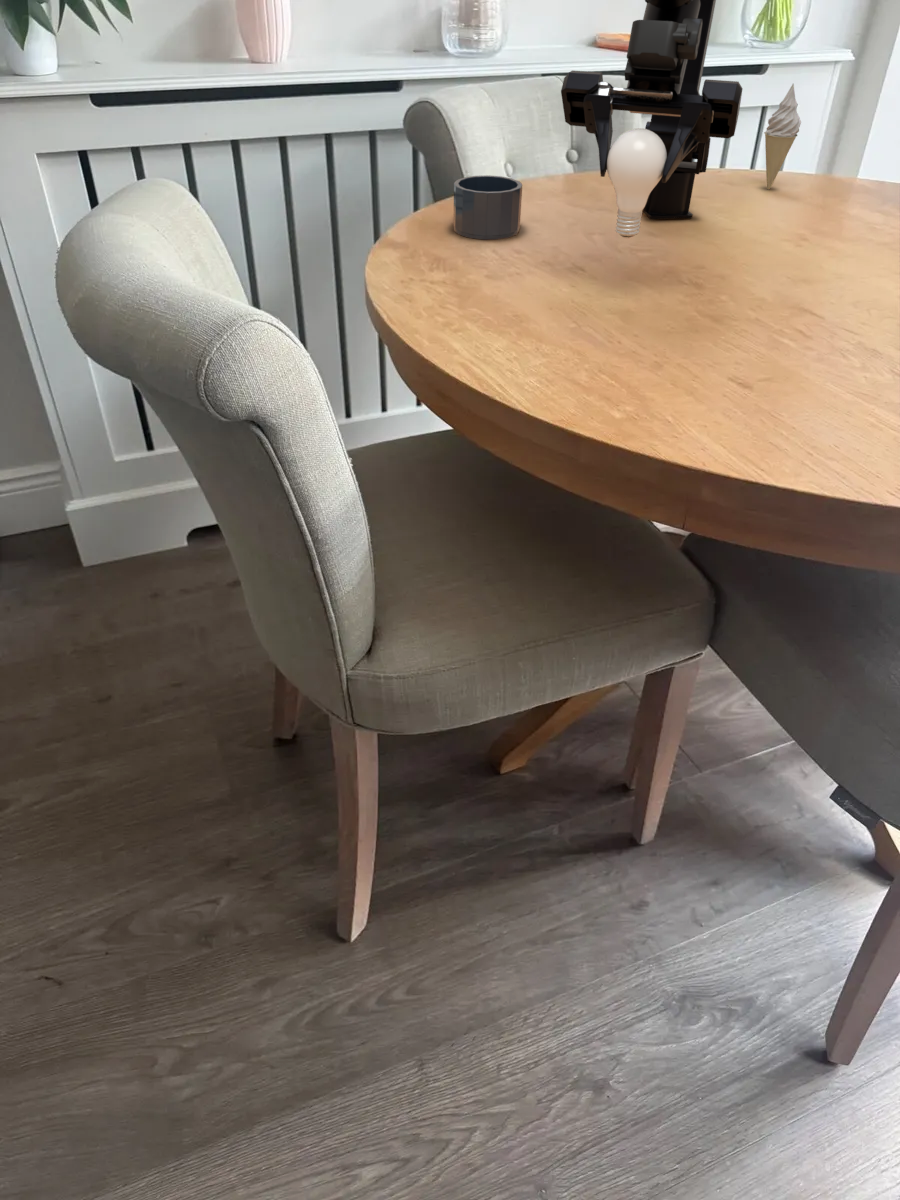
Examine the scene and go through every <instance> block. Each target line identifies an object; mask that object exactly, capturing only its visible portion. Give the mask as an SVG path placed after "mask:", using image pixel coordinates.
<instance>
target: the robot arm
mask: <svg viewBox="0 0 900 1200" xmlns="http://www.w3.org/2000/svg"><path fill="white" fill-rule="evenodd" d="M644 1H645V3H646V5H645V10H644V13H643V18H642V19H636V20H633V21H632V25H631V31H630V36H629V41H628V47H627V53H626V60H627V61H626V65H625V69H624V81H627V84H626V87H614V86H613V85H612V84H611V83H609V82H607V81H604V78H603V77H604V76H603V75H604V74H603V72H601V71H585V70H571V71H569V72H568V73H567V74H566V75H565V76H564V77H563V82H562V85H561V90H560V95H561V101H562V108H563V115H564V122H565V123H566V124H567V125H569V126H573V127H584V128H585V130H586V132H587V133H589V134H593V135H594V136H595V140H596V144H597V148H598V159H599V173H600V177H603V178H604V177H605V176H606V173H607V157H608V153H609V150H610V148H611V146H612V138H613V132H614V131H613V130H614V129H613V113H614V111H623V112H624V111H626V112H629V113H630V114H640V115H651V117H650V120H649V121H646V124H645V127H644V129H648V130H650V131H652V132H654V133H655V134H657V135H658V136H659V137H660V138H661V140H662V141H663V143H664V145H665V148H666V152H667V159H666V162H665V166H664V171H663V175H662V178H661V179H660V181H659V182H658V184H657V185H656V186H655V187H654V189H653V190H652V191H651V193H650V195H649V197H648V200H647V203H646V205H645V207H644V209H643V210H642V214H644V215H645V216H646V217H648V218H649V219H650V220H672V219H674V220H675V219H692V218H693V216H694V214H693V213H692V212H691V211H690V207H691V206H690V205H691V200H692V196H693V190H694V183H695V177H696V175H700V174H701V173H706V172H707V166H708V162H709V154H710V146H711V138H716V139H717V138H718V139H731V138H732V137H734V136H735V134H736V130H737V124H738V121H739V115H740V108H741V104H742V103H741V101H742V96H743V90H744V89H743V86H742V85H741V83H740V82H739V81H736V80H735V81H733V80H721V79H720V80H719V79H705V80H704V82H703V86H702V90H701V93H700V88H701V82H702V77H703V73H704V72H703V71H704V67H705V62H706V61H705V60H706V54H707V51H708V46H709V40H710V35H711V34H710V33H711V29H712V24H713V19H714V14H715V9H716V4H717V3H716V2H717V0H644ZM694 160H696V161H694Z"/></svg>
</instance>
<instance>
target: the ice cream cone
mask: <svg viewBox="0 0 900 1200" xmlns="http://www.w3.org/2000/svg"><path fill="white" fill-rule="evenodd" d="M798 105H799V104H798V102H797V100H796V94H795V84H794V83H792V84H791V86H790V88H789V89H788V91H787V92H786V95H785V96H784V98H783V99H782V101H780V102H779V108H778V109H777V110H776V111H775V112H773V113H772V114H771V117H769V119H768V121H767V124H768V126H767V127H766V130H765V131H764V132H763V134H764V140H765V141H764V143H765V144H764V145H765V147H764V149H765V173H766V174H765V176H766V179H765V180H766V190H770V189H771V188H772V185H773V184H774V182H775V180H776V178H777V176H778V174H779V172H780V170H781V168H782V166H783V164H784V162H785V160H786V158H787V156H788V153H789V152H790V150H791V147H792V146H793V144H794V142H795V140H796V138H797V137H798V133H799V132H800V127H801V125H802V121H801V118H800V116H799V113H798V111H797V107H798Z"/></svg>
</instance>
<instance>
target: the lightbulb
mask: <svg viewBox="0 0 900 1200" xmlns="http://www.w3.org/2000/svg"><path fill="white" fill-rule="evenodd" d="M666 159H667V152H666V148H665V145H664V143H663V141H662V140H661V138H660V137H659V136H658V135H657V134H655V133H654V132H652V131H650V130H648V129H645V128H643V127H640V128H639V127H638V128H632V129H629V130H627V131H624V132H622V133H621V134H620V135H619V136H618V137H617V138H616V139H615V140H614V141H613V143H611V147H610V150H609V153H608V157H607V170H606V173H607V176H608V178H609V180H610V183H611V185H612V187H613V189H614V193H615V200H616V201H615V204H616V207H617V214H616V216H617V219H616V224H615V225H616V226H615V232H616V233H617V234H618V235H619V236H621V237H622V238H624V239H630V238H633V237H635V236H636V235H638V234H639V233H640V228H641V221H642V218H641V217H642V216H643V212H642V210H643V209H644V207H645V205H646V203H647V200H648V197H649V195H650V193H651V191H652V190H653V189H654V187H655V186H656V185H657V184H658V182H659V181H660V179H661V178H662V175H663V171H664V166H665V162H666Z"/></svg>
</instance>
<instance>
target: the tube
mask: <svg viewBox="0 0 900 1200" xmlns="http://www.w3.org/2000/svg"><path fill="white" fill-rule="evenodd" d="M522 197H523V183H521V182H520V181H519V180H518V179H515V178H513V177H512V178H511V177H507V176H501V175H487V174H486V175H470V176H465V177H461V178H459V179H456V181H454V182H453V212H452V213H453V221H452V222H453V223H452V225H453V231H454V232H455V233H456V234H457V235H460V236H462V237H464V238H469V239H475V240H485V241H487V240H490V241H491V240H492V241H493V240H503V239H508V238H511V237H514V236H517V234H519V232H520V227H521V214H522V213H521V212H522Z"/></svg>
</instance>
